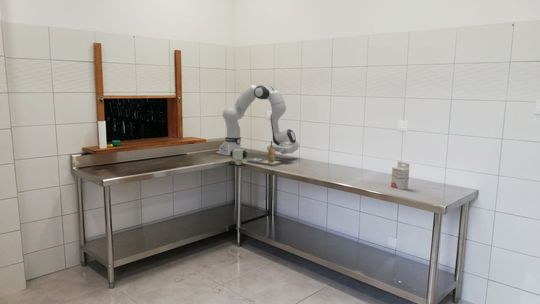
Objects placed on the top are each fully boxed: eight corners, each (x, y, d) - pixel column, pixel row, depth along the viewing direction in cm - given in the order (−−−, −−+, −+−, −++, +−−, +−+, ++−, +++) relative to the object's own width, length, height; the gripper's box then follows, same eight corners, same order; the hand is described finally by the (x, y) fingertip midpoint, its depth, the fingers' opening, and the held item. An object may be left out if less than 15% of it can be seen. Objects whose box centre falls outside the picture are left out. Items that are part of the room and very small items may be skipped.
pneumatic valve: (245, 165, 293) (245, 149, 291) (230, 164, 296) (230, 148, 295) (247, 164, 298) (247, 148, 297) (232, 163, 302) (232, 147, 300)
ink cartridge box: (390, 186, 239) (392, 162, 236) (395, 185, 242) (397, 161, 239) (402, 190, 232) (404, 164, 230) (408, 188, 235) (410, 163, 232)
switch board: (247, 162, 308) (247, 159, 307) (257, 159, 318) (257, 157, 318) (272, 166, 294) (272, 163, 293) (283, 163, 304) (283, 161, 304)
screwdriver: (266, 162, 302) (266, 140, 299) (270, 161, 306) (270, 139, 303) (271, 162, 299) (272, 141, 296) (275, 161, 303) (276, 140, 300)
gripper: (273, 142, 319) (262, 144, 308) (295, 145, 307) (284, 147, 296) (273, 150, 320) (262, 152, 309) (295, 153, 308) (284, 155, 297)
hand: (273, 150), depth 303 cm, fingers open, 8 cm apart
